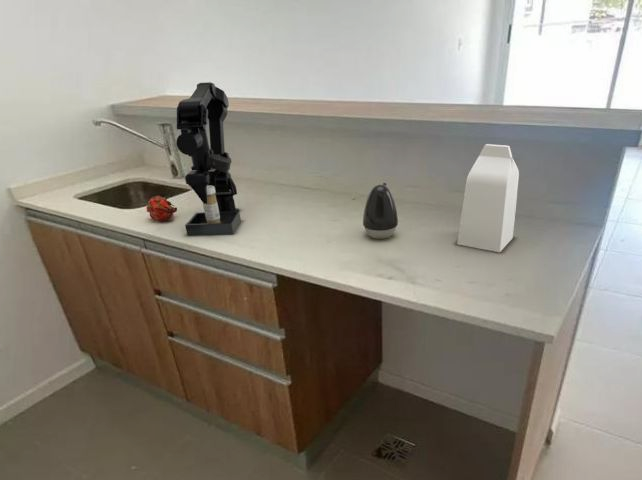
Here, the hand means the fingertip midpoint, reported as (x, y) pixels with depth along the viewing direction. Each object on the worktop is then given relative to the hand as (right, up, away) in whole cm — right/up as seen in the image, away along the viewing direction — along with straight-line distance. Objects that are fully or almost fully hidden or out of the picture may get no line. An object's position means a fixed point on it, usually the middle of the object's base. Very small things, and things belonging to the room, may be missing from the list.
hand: (209, 198), depth 146 cm
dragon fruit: (-20, -4, +15) cm, 25 cm away
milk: (+82, -16, -14) cm, 85 cm away
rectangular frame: (0, -8, +5) cm, 10 cm away
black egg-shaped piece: (+53, -13, -7) cm, 55 cm away
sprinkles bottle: (0, -9, +5) cm, 10 cm away
